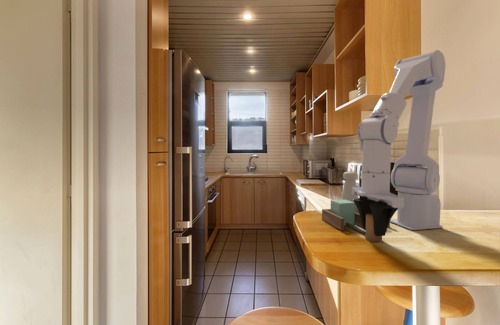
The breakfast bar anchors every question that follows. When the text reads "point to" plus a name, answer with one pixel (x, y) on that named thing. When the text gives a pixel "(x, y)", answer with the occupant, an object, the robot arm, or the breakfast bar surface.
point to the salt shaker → (349, 186)
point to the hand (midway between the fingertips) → (373, 232)
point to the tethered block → (348, 213)
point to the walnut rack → (339, 219)
